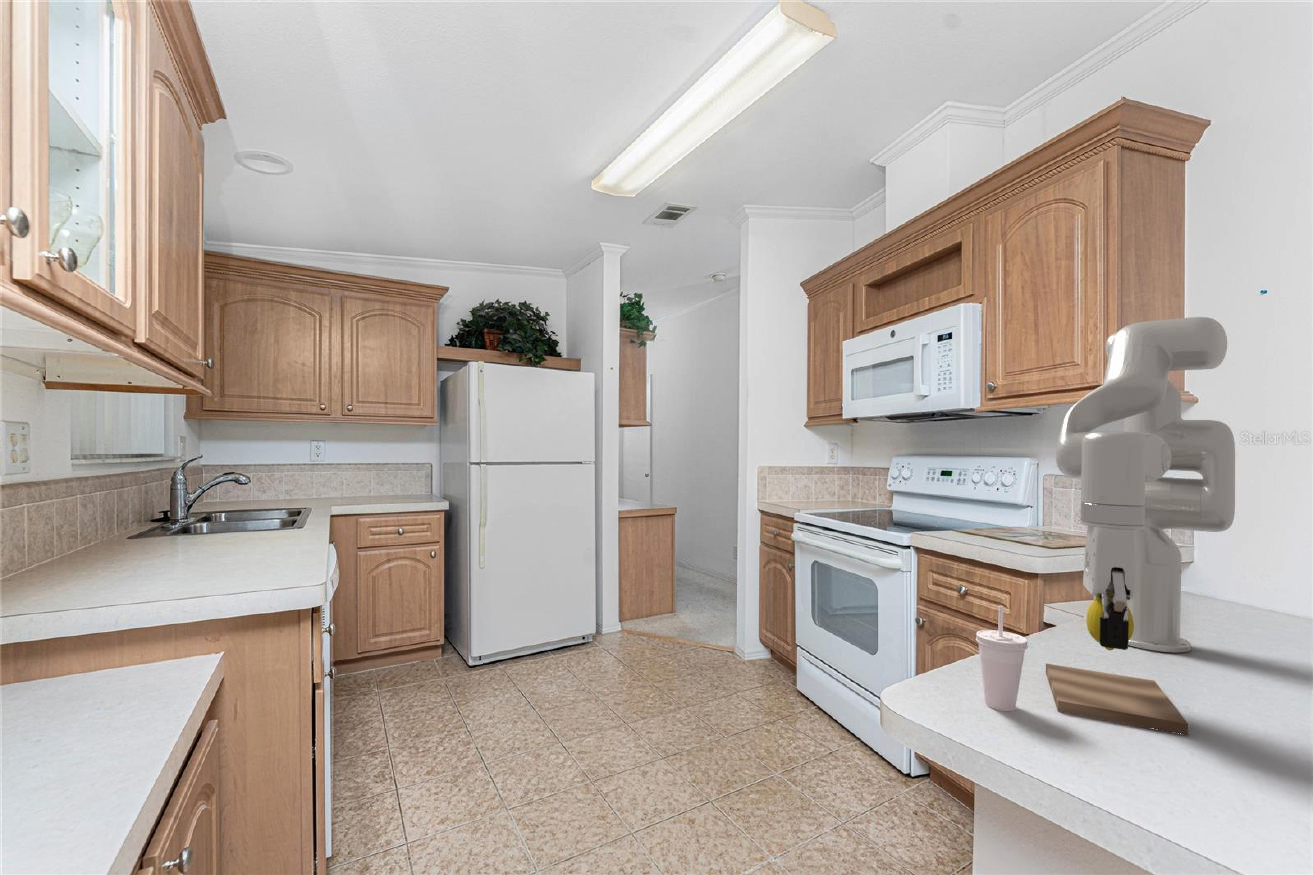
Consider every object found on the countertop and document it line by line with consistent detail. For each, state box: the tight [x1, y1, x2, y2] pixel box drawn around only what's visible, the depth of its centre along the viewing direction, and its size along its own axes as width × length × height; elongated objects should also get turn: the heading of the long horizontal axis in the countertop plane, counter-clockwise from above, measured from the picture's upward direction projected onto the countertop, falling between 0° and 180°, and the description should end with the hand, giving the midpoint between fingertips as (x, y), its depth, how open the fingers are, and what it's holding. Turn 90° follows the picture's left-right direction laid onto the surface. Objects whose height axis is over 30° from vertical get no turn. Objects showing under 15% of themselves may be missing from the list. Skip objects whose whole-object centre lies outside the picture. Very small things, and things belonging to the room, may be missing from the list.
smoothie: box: [975, 605, 1029, 712], centre depth 87 cm, size 6×6×14 cm
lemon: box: [1086, 595, 1134, 651], centre depth 90 cm, size 6×6×8 cm
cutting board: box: [1045, 663, 1189, 736], centre depth 90 cm, size 17×14×2 cm
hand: (1109, 640), depth 90 cm, fingers closed on lemon, 5 cm apart
